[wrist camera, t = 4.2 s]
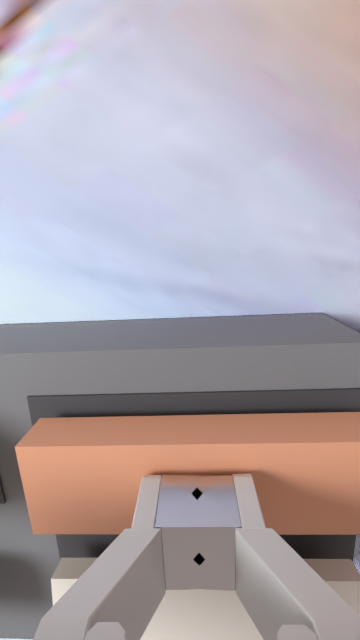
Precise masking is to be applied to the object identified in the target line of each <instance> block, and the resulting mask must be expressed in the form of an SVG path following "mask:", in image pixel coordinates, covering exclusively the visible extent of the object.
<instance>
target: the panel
mask: <svg viewBox="0 0 360 640" xmlns="http://www.w3.org/2000/svg"><path fill="white" fill-rule="evenodd" d="M324 412H360V333H359V332H357V331H355V330H353V329H352V328H350V327H348V326H346V325H344V324H342V323H340V322H338V321H336V320H335V319H333V318H331V317H329V316H327V315H325V314H323V313H300V314H272V315H244V316H217V317H189V318H161V319H134V320H106V321H78V322H50V323H23V324H0V638H19V639H33V638H34V636H35V633H36V631H37V628H38V626H39V623H40V621H41V618H42V617H43V616H44V615H45V614H46V613H47V612H48V611H49V610H50V609H51V608H52V607H53V601H52V588H51V577H52V575H53V573H54V571H55V570H56V568H57V566H58V564H59V562H60V560H61V558H98V557H99V556H100V555H101V554H102V553H103V552H104V551H105V550H106V549H107V548H108V546H109V545H110V544H111V543H112V542H113V541H114V540H115V539H116V538H117V537H118V536H119V535H120V534H33V532H32V527H31V522H30V518H29V513H28V508H27V503H26V499H25V494H24V489H23V484H22V480H21V475H20V470H19V465H18V461H17V456H16V451H15V446H16V445H17V444H18V443H19V441H20V440H21V439H22V438H23V437H24V436H25V435H26V433H27V432H28V431H29V430H30V429H31V428H32V427H33V425H34V424H35V423H36V422H37V421H38V420H39V419H40V418H65V417H117V416H169V415H220V414H272V413H324ZM280 536H281V537H282V538H283V539H284V540H285V541H286V542H287V543H288V544H289V545H290V546H291V548H292V549H293V550H294V551H295V552H296V553H297V554H298V555H299V556H300V557H301V558H302V559H351V560H352V562H353V554H354V546H355V538H356V535H280Z"/></svg>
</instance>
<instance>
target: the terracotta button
mask: <svg viewBox="0 0 360 640" xmlns="http://www.w3.org/2000/svg"><path fill="white" fill-rule="evenodd" d="M15 451H16V456H17V461H18V465H19V470H20V475H21V480H22V484H23V489H24V494H25V499H26V503H27V508H28V513H29V518H30V522H31V527H32V532H33V534H121V533H122V531H123V530H124V529H129V528H131V526H132V522H133V517H134V512H135V508H136V503H137V498H138V494H139V489H140V485H141V480H142V478H143V476H144V475H230V474H231V475H232V474H251V475H252V477H253V480H254V484H255V488H256V492H257V495H258V499H259V503H260V507H261V510H262V514H263V518H264V522H265V525H266V528H273V529H274V530H275V531H276V532H277V533H278V534H279V535H360V412H324V413H272V414H220V415H169V416H117V417H65V418H40V419H39V420H38V421H37V422H36V423H35V424H34V425H33V427H32V428H31V429H30V430H29V431H28V432H27V433H26V435H25V436H24V437H23V438H22V439H21V440H20V441H19V443H18V444H17V445H16V446H15Z"/></svg>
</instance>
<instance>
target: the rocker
mask: <svg viewBox="0 0 360 640" xmlns="http://www.w3.org/2000/svg"><path fill="white" fill-rule="evenodd" d="M96 559H97V558H61V560H60V562H59V564H58V566H57V568H56V570H55V571H54V573H53V575H52V577H51V588H52V601H53V606H54V604H55V603H56V602H57V601H58V600H59V599H60V598H61V597H62V596H63V595H64V594H65V593H66V592H67V591H68V589H69V588H70V587H71V586H72V585H73V584H74V583H75V582H76V581H77V580H78V579H79V578H80V577H81V575H82V574H83V573H84V572H85V571H86V570H87V569H88V568H89V567H90V566H91V565H92V564H93V563H94V562H95V560H96ZM303 560H304V561H305V562H306V563H307V564H308V565H309V566H310V567H311V568H312V569H313V570H314V571H315V572H316V573H317V574H318V575H319V576H320V577H321V578H322V579H323V580H324V581H325V582H326V583H327V584H328V585H329V586H330V587H331V588H332V589H333V590H334V591H335V592H336V593H337V594H338V595H339V596H340V597H341V598H342V599H343V600H344V601H345V602H346V603H347V604H348V605H349V606H350V607H351V608H352V609H353V610H354V611H355V612H356V613H357V614H358V615H359V616H360V574H359V572H358V570H357V569H356V567H355V565H354V564H353V562H352V560H351V559H303ZM140 640H264V639H263V638H262V636H261V634H260V633H259V631H258V629H257V628H256V626H255V624H254V623H253V621H252V619H251V618H250V616H249V614H248V613H247V611H246V609H245V608H244V606H243V604H242V603H241V601H240V599H239V598H238V596H237V594H236V591H230V590H206V589H191V590H166V593H165V595H164V597H163V599H162V601H161V603H160V604H159V606H158V608H157V610H156V612H155V613H154V615H153V617H152V619H151V621H150V623H149V624H148V626H147V628H146V630H145V632H144V633H143V635H142V637H141V639H140Z"/></svg>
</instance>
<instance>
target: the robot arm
mask: <svg viewBox="0 0 360 640" xmlns="http://www.w3.org/2000/svg"><path fill="white" fill-rule="evenodd" d="M191 589H206V590H230V591H236V594H237V596H238V598H239V599H240V601H241V603H242V604H243V606H244V608H245V609H246V611H247V613H248V614H249V616H250V618H251V619H252V621H253V623H254V624H255V626H256V628H257V629H258V631H259V633H260V634H261V636H262V638H263V639H264V640H360V616H359V615H358V614H357V613H356V612H355V611H354V610H353V609H352V608H351V607H350V606H349V605H348V604H347V603H346V602H345V601H344V600H343V599H342V598H341V597H340V596H339V595H338V594H337V593H336V592H335V591H334V590H333V589H332V588H331V587H330V586H329V585H328V584H327V583H326V582H325V581H324V580H323V579H322V578H321V577H320V576H319V575H318V574H317V573H316V572H315V571H314V570H313V569H312V568H311V567H310V566H309V565H308V564H307V563H306V562H305V561H304V560H303V559H302V558H301V557H300V556H299V555H298V554H297V553H296V552H295V551H294V550H293V549H292V548H291V546H290V545H289V544H288V543H287V542H286V541H285V540H284V539H283V538H282V537H281V536H280V535H279V534H278V533H277V532H276V531H275V530H274V529H273V528H266V525H265V522H264V518H263V514H262V510H261V507H260V503H259V499H258V495H257V492H256V488H255V484H254V480H253V477H252V475H251V474H232V475H231V474H230V475H144V476H143V478H142V480H141V485H140V489H139V494H138V498H137V503H136V508H135V512H134V517H133V522H132V526H131V528H129V529H124V530H123V531H122V533H121V534H120V535H119V536H118V537H117V538H116V539H115V540H114V541H113V542H112V543H111V544H110V545H109V546H108V548H107V549H106V550H105V551H104V552H103V553H102V554H101V555H100V556H99V557H98V558H97V559H96V560H95V562H94V563H93V564H92V565H91V566H90V567H89V568H88V569H87V570H86V571H85V572H84V573H83V574H82V575H81V577H80V578H79V579H78V580H77V581H76V582H75V583H74V584H73V585H72V586H71V587H70V588H69V589H68V591H67V592H66V593H65V594H64V595H63V596H62V597H61V598H60V599H59V600H58V601H57V602H56V603H55V604H54V606H53V607H52V608H51V609H50V610H49V611H48V612H47V613H46V614H45V615H44V616H43V617H42V618H41V621H40V623H39V626H38V628H37V631H36V633H35V636H34V638H33V640H140V639H141V637H142V635H143V633H144V632H145V630H146V628H147V626H148V624H149V623H150V621H151V619H152V617H153V615H154V613H155V612H156V610H157V608H158V606H159V604H160V603H161V601H162V599H163V597H164V595H165V593H166V590H191Z"/></svg>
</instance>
